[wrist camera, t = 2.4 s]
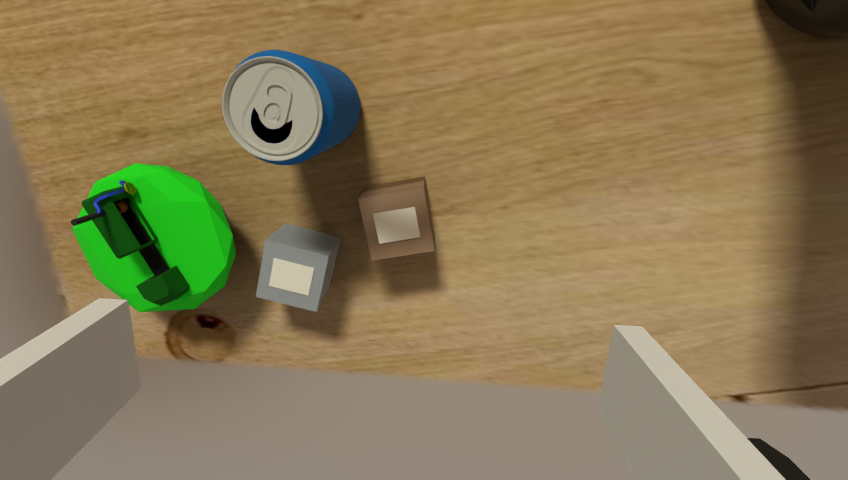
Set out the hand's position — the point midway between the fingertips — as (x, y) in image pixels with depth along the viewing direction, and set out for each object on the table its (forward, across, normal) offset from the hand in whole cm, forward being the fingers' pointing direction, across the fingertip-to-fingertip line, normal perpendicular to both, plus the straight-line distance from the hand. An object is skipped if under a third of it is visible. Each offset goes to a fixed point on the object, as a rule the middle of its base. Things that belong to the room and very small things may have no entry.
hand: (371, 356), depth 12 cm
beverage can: (+28, -7, +6) cm, 29 cm away
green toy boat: (+28, -19, -5) cm, 34 cm away
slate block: (+27, -9, -7) cm, 30 cm away
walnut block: (+27, -1, -2) cm, 27 cm away
